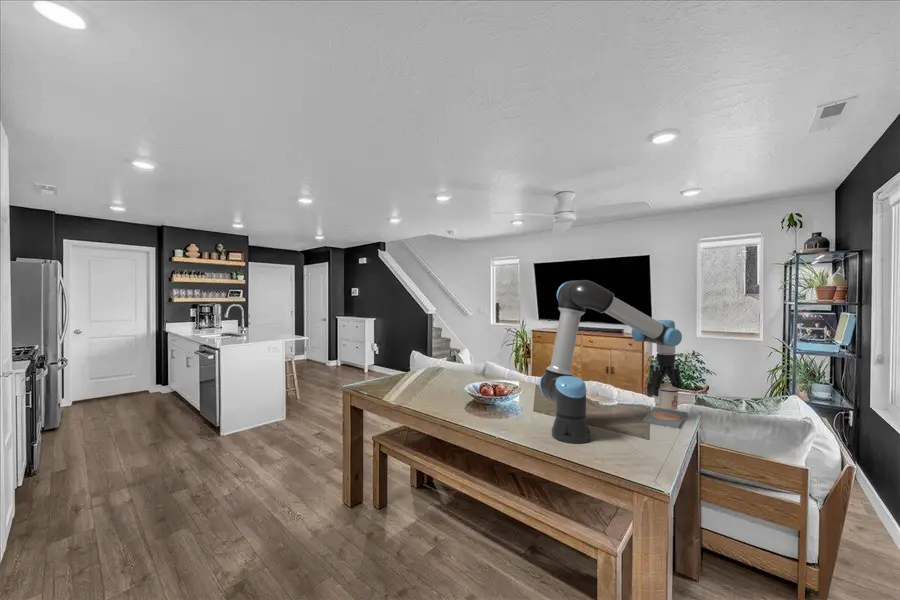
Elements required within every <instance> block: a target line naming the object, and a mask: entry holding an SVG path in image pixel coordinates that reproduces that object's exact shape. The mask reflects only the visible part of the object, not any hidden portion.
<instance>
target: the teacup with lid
mask: <svg viewBox="0 0 900 600" xmlns="http://www.w3.org/2000/svg"><path fill="white" fill-rule="evenodd" d="M670 383H671V382H670V381H665V382H664V383H663V384H662V383H661V385H660V388H659V389H661V404H658V403H655V407H657V408H662V409H667V410H675V411H677V409H678V402H679V401H678V400H679V399H678V395H679V389H677V388H675V387H673V386H672V384H670Z"/></svg>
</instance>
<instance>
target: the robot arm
mask: <svg viewBox="0 0 900 600" xmlns="http://www.w3.org/2000/svg"><path fill="white" fill-rule="evenodd" d="M556 299H557V301H558V305H557V306H558V307H557V309H558V311H559V313H560V315H559V320H558V325H557V329H556V330H557V331H556V334H555V338H554V340H555V341H554V345H553V350H552V355H551V362H550V364H549V366H547V367H546V368H545V373H544V374H543V375H542V376H540V379H539V381H538V387H539V389H540V393H541V394H542V395H543V396H544V397H545V398H546V399H548V400H549V401H551V402H552V403H554V404H555V418H554V421H553V425H552V427H551V436H552V438H554V439H555V440H558V441H560V442H564V443H568V444H584V443H587V442H589V441H590V440H591V438H592V436H591V430H590V427H589V424H588V421H587V386H586V385H587V384H586V382H585V381H584V380H583V379H581V378H579V377H575V376H574V373H573V372H572V370H571V366H572V363H573V362H572V361H573V355H574V353H575V352H574V351H575V346H576V341H577V338H578V337H577V336H578V331H579V327H580V321H581V317H582V316H583V315H584V314H585V313H586V310H587V309H589V310H593V311H596V312H597V313H599V314H604V313H605V314H607V315H608V316H610V317H612V318H614V319H615V320H617V321H619V322H621V323H623V324H625V325H626V326H629V327H630V328H632V329H631V337H632V340H633V341H635V342H639V343H644V342H646V343H652V344H656V362H657V365H652V366H651V367H652V368H651V369H652V373H651V379H650V382H649V383H650V384H649V388H652V389H653V396H654V403H655V404H656V403H658V404H661V389H659V388H660V385H662V383H663V380H664V378H665V376H668V379H669V382H670V383H671V384H670V385H672V386H673V387H675V388H677V389H678V388H681V386H682V379H681V375H680V365H679V364H675V362H676V355H675V354H676V346H678V345H680V344H681V343H682V340H683V335H682V332H681V331H680V330H679V329H678V328H676V323H675V321H674V320H670V319H658V320H656V319H655V318H652V317H651V316H649V315H647V314H645V313H644V312H642V311H640V310H638V309H636V308H635V307H634V306H631V304H628V303H626V302H625V301H622V300H621V299H619V298H617V297H615V294H614V292H612V291H610V290H609V289H607V288H605V287H603V286H602V285H601V284H600V285H599V284H598V283H596V282H594V281H591V280H589V279H588V280H587V279H582V280H580V279H579V280H569V281H565V282H564V283H562V284H561V285H560V286H559V287H558V289H557V291H556ZM678 390H679V389H678Z"/></svg>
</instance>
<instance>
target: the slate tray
mask: <svg viewBox="0 0 900 600" xmlns="http://www.w3.org/2000/svg"><path fill="white" fill-rule="evenodd" d="M686 415H687V416H688V412H685V411H681V410H679V411H678V410H667V409H662V408H659V407H657V406H655V407H653V408H652V409H651V410H650V411H649V413H648V414H647V415H646V416H645V417H644V418H643V419H642V423H646V424H652V425H657V426H662V425H663V426H662V427H667V426H669V427H668V428H672V427H673V428H674V429H677V428H678V430H679V429H680V428H681V426H682V424H683V422H684V421H683V420H685V419H686V417H687V416H686ZM684 418H685V419H684ZM679 427H680V428H679ZM673 428H672V429H673Z"/></svg>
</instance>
